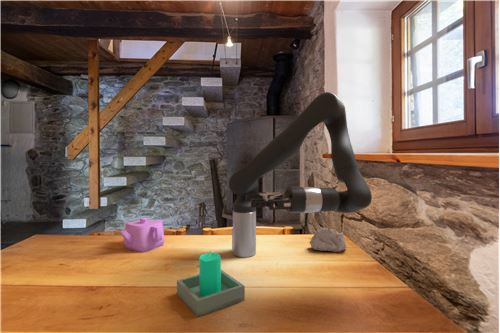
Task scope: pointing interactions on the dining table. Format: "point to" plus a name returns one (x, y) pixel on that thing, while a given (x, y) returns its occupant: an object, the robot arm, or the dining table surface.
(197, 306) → the tray
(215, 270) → the candle
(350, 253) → the dining table surface
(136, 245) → the teakettle
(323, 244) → the pumice stone
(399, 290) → the dining table surface
